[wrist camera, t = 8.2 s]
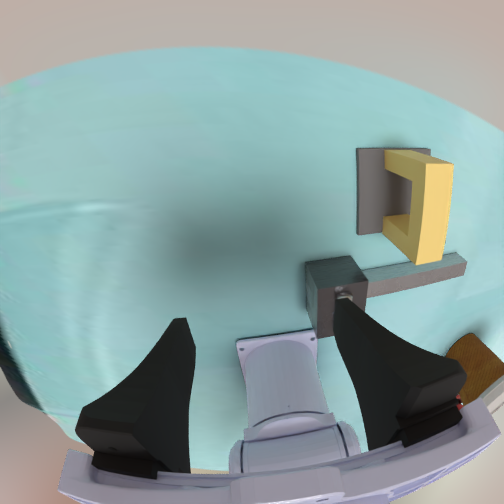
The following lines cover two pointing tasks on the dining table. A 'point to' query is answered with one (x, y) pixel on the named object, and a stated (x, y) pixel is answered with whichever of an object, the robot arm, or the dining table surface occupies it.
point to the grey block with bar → (366, 283)
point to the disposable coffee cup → (479, 372)
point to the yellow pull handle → (421, 205)
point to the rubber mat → (380, 189)
